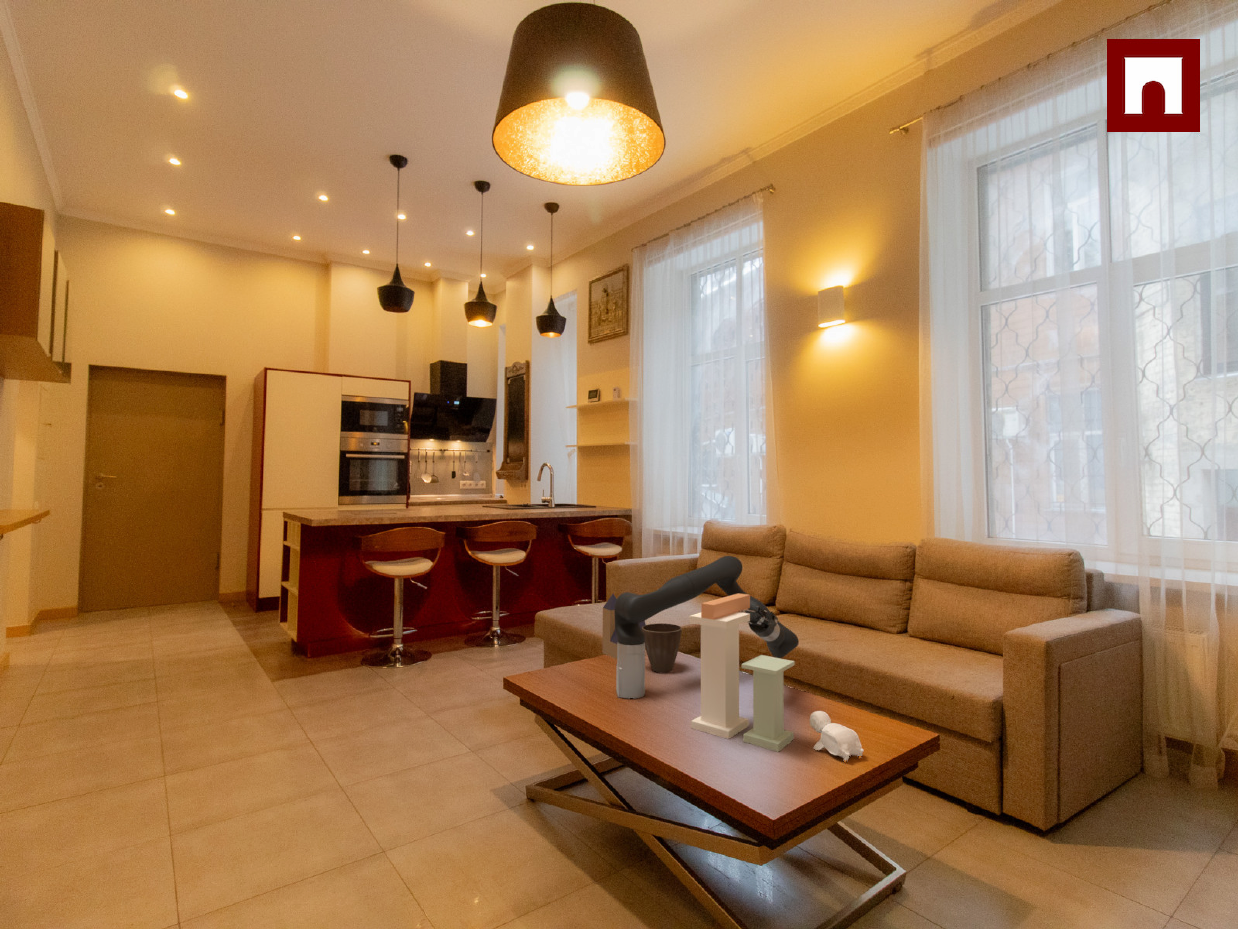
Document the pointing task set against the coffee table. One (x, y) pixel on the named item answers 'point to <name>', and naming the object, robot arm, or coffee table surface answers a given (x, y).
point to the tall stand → (720, 675)
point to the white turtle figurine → (835, 736)
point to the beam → (725, 606)
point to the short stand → (768, 703)
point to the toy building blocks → (611, 628)
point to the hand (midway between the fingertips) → (744, 607)
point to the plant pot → (662, 645)
